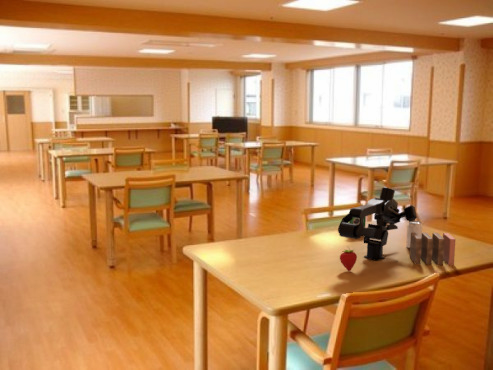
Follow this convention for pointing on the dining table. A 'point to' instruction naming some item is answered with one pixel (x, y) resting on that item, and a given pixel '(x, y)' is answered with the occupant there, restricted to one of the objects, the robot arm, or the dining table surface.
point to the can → (413, 230)
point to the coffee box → (357, 221)
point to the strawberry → (348, 259)
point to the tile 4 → (449, 248)
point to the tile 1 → (415, 248)
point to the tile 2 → (426, 248)
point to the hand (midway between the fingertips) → (406, 224)
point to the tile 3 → (438, 248)
